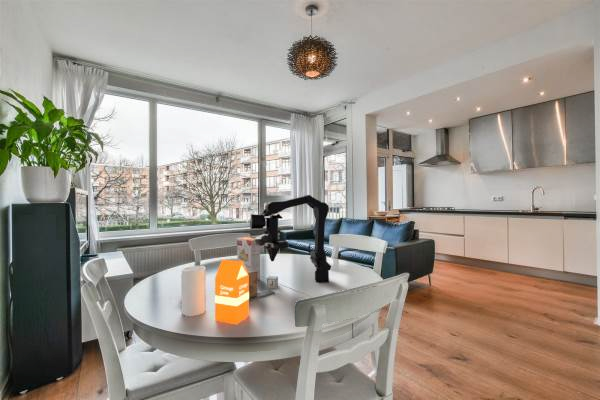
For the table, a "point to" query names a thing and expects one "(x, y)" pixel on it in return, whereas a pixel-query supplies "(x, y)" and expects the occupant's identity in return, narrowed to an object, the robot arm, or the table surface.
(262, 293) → the rail
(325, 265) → the robot arm
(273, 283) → the letter cube
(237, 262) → the orange juice
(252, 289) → the brown wooden block
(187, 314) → the cup
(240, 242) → the cracker box
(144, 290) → the table surface
